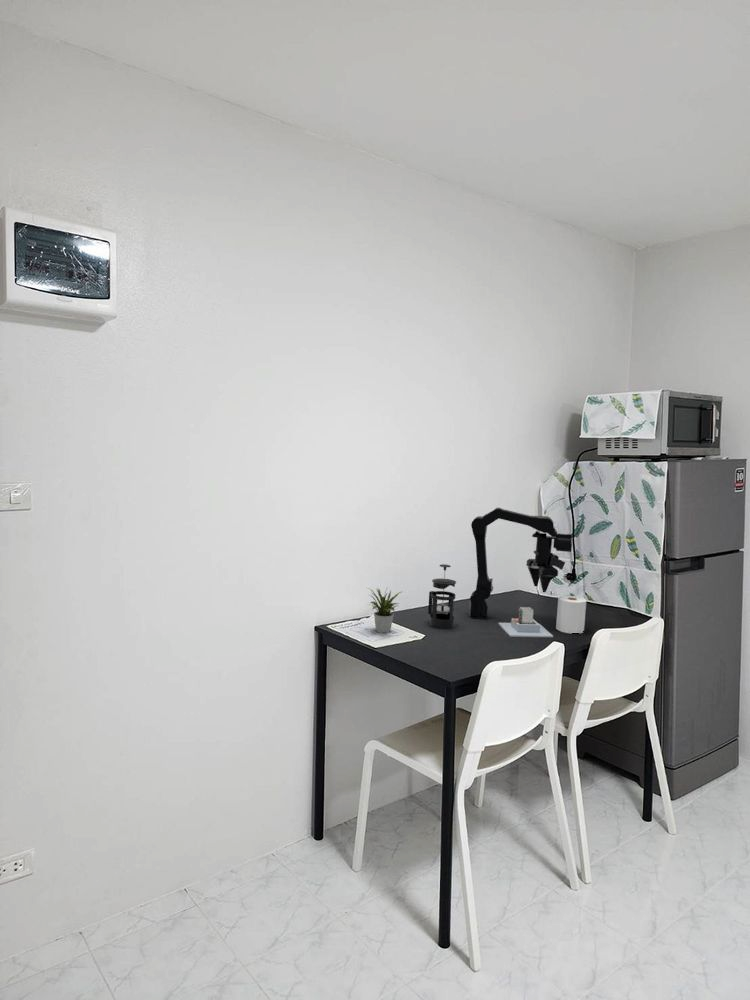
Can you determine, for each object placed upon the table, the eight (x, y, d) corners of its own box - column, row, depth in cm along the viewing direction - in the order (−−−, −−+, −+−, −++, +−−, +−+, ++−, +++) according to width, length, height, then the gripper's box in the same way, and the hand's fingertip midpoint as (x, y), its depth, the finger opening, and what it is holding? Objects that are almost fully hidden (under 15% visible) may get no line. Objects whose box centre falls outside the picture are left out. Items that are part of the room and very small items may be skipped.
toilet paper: (585, 635, 261) (588, 603, 260) (556, 632, 263) (559, 600, 262) (582, 627, 271) (585, 596, 270) (554, 625, 273) (557, 594, 272)
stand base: (509, 636, 255) (510, 625, 255) (498, 623, 271) (499, 613, 270) (553, 637, 256) (553, 626, 256) (539, 624, 272) (539, 614, 272)
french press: (460, 626, 265) (464, 566, 262) (443, 630, 258) (447, 568, 256) (437, 619, 273) (440, 560, 271) (420, 623, 267) (423, 563, 264)
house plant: (353, 632, 251) (355, 587, 249) (368, 622, 264) (370, 579, 262) (391, 638, 246) (393, 592, 244) (404, 628, 258) (406, 584, 257)
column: (519, 629, 261) (521, 609, 261) (516, 626, 265) (518, 607, 265) (532, 630, 262) (533, 610, 261) (528, 626, 266) (530, 607, 265)
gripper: (573, 554, 264) (569, 595, 265) (554, 545, 282) (551, 584, 284) (544, 553, 262) (540, 595, 264) (527, 544, 280) (524, 583, 282)
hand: (539, 589), depth 273 cm, fingers open, 9 cm apart
